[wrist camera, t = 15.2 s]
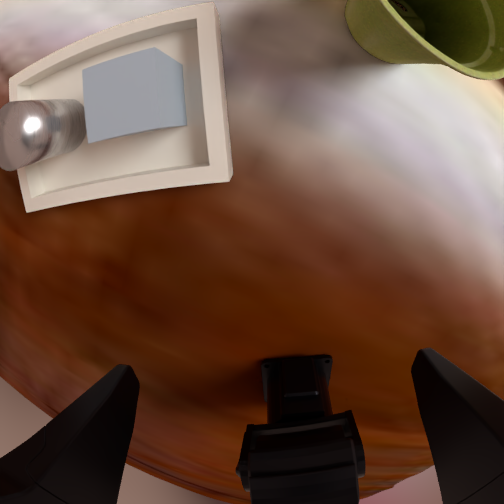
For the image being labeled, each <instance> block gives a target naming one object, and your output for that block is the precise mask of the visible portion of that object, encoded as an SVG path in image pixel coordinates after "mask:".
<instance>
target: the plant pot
mask: <svg viewBox="0 0 504 504" xmlns="http://www.w3.org/2000/svg"><path fill="white" fill-rule="evenodd" d="M394 1H397V2H399V3H400V4H402V5H403V6H404V7H405V8H406V10H407V12H405V11H403V9H401V8H400V7H399V6H398V5H397V4H395V3H394V2H392V1H391V0H348V1H347V4H346V7H345V18H346V21H347V24H348V27H349V29H350V32H351V34H352V36H353V38H354V39H355V40H356V42H357V43H358V44H359V45H360V46H361V47H362V48H363V49H364V50H366V51H367V52H368V53H369V54H371V55H373V56H374V57H376V58H378V59H380V60H383V61H386V62H389V63H395V64H421V63H425V64H442V65H445V66H448V67H450V68H452V69H453V70H455V71H457V72H459V73H462V74H464V75H467V76H469V77H473V78H476V79H482V80H496V79H501V78H503V77H504V0H394Z"/></svg>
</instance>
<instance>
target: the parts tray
mask: <svg viewBox="0 0 504 504" xmlns="http://www.w3.org/2000/svg"><path fill="white" fill-rule="evenodd" d="M153 47H156V48H157V49H159V50H160V51H162V52H164V53H165V54H167V55H168V56H170V57H171V58H173V59H174V60H176V61H177V62H179V63H180V64H182V65H183V79H184V93H185V105H186V116H187V125H186V126H179V127H172V128H166V129H160V130H155V131H149V132H144V133H139V134H134V135H129V136H123V137H118V138H113V139H108V140H103V141H98V142H94V143H89V144H88V138H87V133H86V136H85V138H84V140H83V142H82V143H81V145H80V146H79V147H78V148H77V149H75V150H74V151H72V152H69V153H65V154H62V155H58V156H55V157H52V158H48V159H45V160H42V161H39V162H36V163H33V164H30V165H27V166H24V167H21V168H19V169H17V172H18V177H19V182H20V187H21V192H22V196H23V200H24V205H25V209H26V212H27V213H28V212H33V211H37V210H41V209H46V208H51V207H55V206H60V205H65V204H70V203H75V202H81V201H86V200H92V199H97V198H103V197H109V196H115V195H121V194H128V193H135V192H142V191H149V190H156V189H164V188H172V187H180V186H189V185H198V184H208V183H219V182H229V181H230V179H231V177H232V175H233V166H232V156H231V145H230V134H229V123H228V112H227V101H226V90H225V78H224V67H223V55H222V43H221V30H220V18H219V14H218V11H217V9H216V6H215V4H214V2H208V3H202V4H196V5H191V6H185V7H181V8H176V9H171V10H167V11H163V12H159V13H155V14H151V15H148V16H144V17H141V18H138V19H134V20H131V21H128V22H125V23H122V24H119V25H116V26H113V27H111V28H108V29H105V30H103V31H100V32H97V33H95V34H93V35H90V36H88V37H85V38H83V39H81V40H79V41H76V42H74V43H72V44H70V45H68V46H66V47H64V48H62V49H60V50H58V51H56V52H54V53H52V54H50V55H48V56H46V57H44V58H42V59H41V60H39V61H37V62H35V63H34V64H32V65H30V66H28V67H27V68H25V69H23V70H22V71H20V72H19V73H17V74H16V75H14V76H12V77H11V78H9V101H10V102H12V101H24V100H42V99H75V100H77V101H79V102H80V103H81V104H82V105H83V106H84V97H83V78H82V70H83V69H86V68H88V67H91V66H94V65H96V64H99V63H102V62H105V61H108V60H111V59H114V58H117V57H120V56H124V55H127V54H130V53H134V52H138V51H141V50H145V49H149V48H153Z"/></svg>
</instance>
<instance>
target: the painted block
mask: <svg viewBox="0 0 504 504" xmlns="http://www.w3.org/2000/svg"><path fill="white" fill-rule="evenodd" d="M82 78H83V97H84V110H85V120H86V130H87V138H88V144H89V143H94V142H98V141H103V140H108V139H113V138H118V137H123V136H129V135H134V134H139V133H144V132H149V131H155V130H160V129H166V128H172V127H179V126H186V125H187V116H186V105H185V93H184V79H183V65H182V64H180V63H179V62H177V61H176V60H174V59H173V58H171V57H170V56H168V55H167V54H165V53H164V52H162V51H160V50H159V49H157V48H156V47H153V48H149V49H145V50H141V51H138V52H134V53H130V54H127V55H124V56H120V57H117V58H114V59H111V60H108V61H105V62H102V63H99V64H96V65H94V66H91V67H88V68H86V69H83V70H82Z"/></svg>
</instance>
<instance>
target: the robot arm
mask: <svg viewBox="0 0 504 504" xmlns="http://www.w3.org/2000/svg"><path fill="white" fill-rule="evenodd" d="M332 362H333V361H332V357H331V356H330V355H321V356H310V357H298V358H283V359H266V360H263V361H262V363H261V368H262V379H263V391H264V400H265V402H267V424H260V425H254V424H248V425H247V429H246V432H245V433H244V438H243V443H242V448H241V453H240V459H239V462H238V464H237V467H236V474H237V475H238V476H239V477H240V478H241V481H242V485H243V488H244V490H245V491H250V497H251V504H358V503H359V486H358V478H360V477H364V475H365V456H364V450H363V445H362V441H361V438H360V435H359V432H358V429H357V426H356V423H355V420H354V417H353V414H352V411H351V410H348V411H345V412H343V413H338V414H333V412H332V407H331V402H330V396H329V391H328V386H329V380H330V374H331V368H332ZM266 364H268V365H266ZM411 374H412V378H413V383H414V387H415V392H416V397H417V402H418V407H419V411H420V415H421V418H422V422H423V425H424V428H425V432H426V435H427V438H428V442H429V446H430V449H431V453H432V457H433V461H434V465H435V469H436V472H437V477H438V482H439V486H440V491H441V496H442V501H443V504H504V400H502V399H501V398H500V397H498V396H497V395H496V394H494V393H493V392H491V391H490V390H489V389H487V388H486V387H485V386H483V385H482V384H481V383H479V382H478V381H476V380H475V379H474V378H472V377H471V376H470V375H468V374H467V373H465V372H464V371H463V370H461V369H460V368H458V367H457V366H456V365H454V364H453V363H452V362H450V361H449V360H447V359H446V358H445V357H443V356H442V355H440V354H439V353H437V352H436V351H435V350H433V349H432V348H425V349H420V350H419V351H418V352H417V355H416V357H415V360H414V362H413V365H412V368H411ZM139 388H140V385H139V381H138V379H137V377H136V375H135V373H134V371H133V369H132V367H131V366H130V365H123V364H119V365H117V366H116V367H114V368H113V369H112V370H111V371H110V372H108V373H107V374H106V375H105V376H104V377H103V378H101V379H100V380H99V381H98V382H97V383H95V384H94V385H93V386H92V387H91V388H89V389H88V390H87V391H86V392H85V393H83V394H82V395H81V396H80V397H79V398H77V399H76V400H75V401H74V402H73V403H72V404H70V405H69V406H68V407H67V408H66V409H64V410H63V411H62V412H61V413H60V414H58V415H57V416H56V417H55V418H54V419H52V420H51V421H50V422H49V423H48V424H47V425H46V426H44V427H43V428H42V429H40V430H39V431H38V432H37V433H36V434H34V435H33V436H32V437H31V438H29V439H28V440H27V441H25V442H24V443H22V444H21V445H20V446H18V447H17V448H15V449H13V450H12V451H11V452H9V453H7V454H6V455H4V456H3V457H1V458H0V504H117V499H118V494H119V489H120V484H121V480H122V475H123V470H124V466H125V462H126V457H127V453H128V449H129V445H130V441H131V437H132V433H133V428H134V422H135V415H136V408H137V401H138V395H139Z"/></svg>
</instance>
